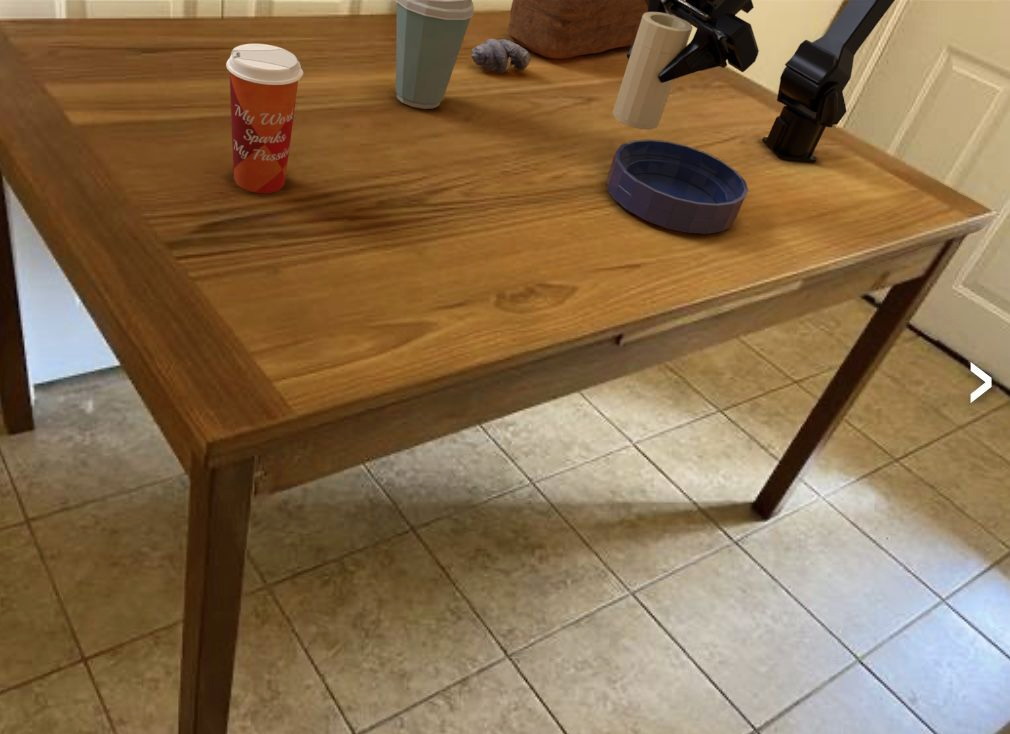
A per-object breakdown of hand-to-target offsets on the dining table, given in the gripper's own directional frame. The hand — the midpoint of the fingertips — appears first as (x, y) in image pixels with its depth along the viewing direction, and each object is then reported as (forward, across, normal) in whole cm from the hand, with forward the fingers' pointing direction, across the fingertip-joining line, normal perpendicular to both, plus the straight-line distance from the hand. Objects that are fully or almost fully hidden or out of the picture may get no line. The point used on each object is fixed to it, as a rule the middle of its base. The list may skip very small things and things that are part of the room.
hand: (643, 68), depth 110 cm
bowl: (+8, +10, +11) cm, 17 cm away
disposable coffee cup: (+22, -23, -3) cm, 32 cm away
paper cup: (+43, -4, -25) cm, 50 cm away
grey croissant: (+9, -32, +10) cm, 34 cm away
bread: (-6, -42, +26) cm, 50 cm away
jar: (+4, 0, +6) cm, 7 cm away
